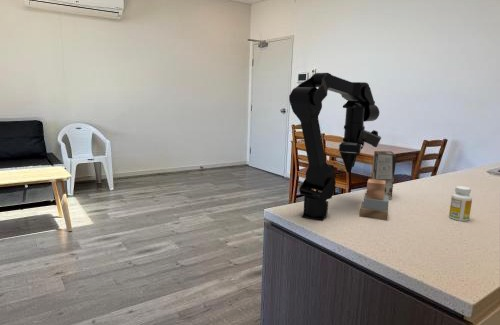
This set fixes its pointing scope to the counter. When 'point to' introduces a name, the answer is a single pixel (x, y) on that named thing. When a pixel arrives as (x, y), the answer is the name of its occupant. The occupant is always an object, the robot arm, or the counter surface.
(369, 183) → the terracotta cube
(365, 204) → the slate top slab
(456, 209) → the supplement bottle
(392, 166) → the coffee box
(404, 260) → the counter surface
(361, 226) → the counter surface
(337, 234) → the counter surface
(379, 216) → the walnut base slab
